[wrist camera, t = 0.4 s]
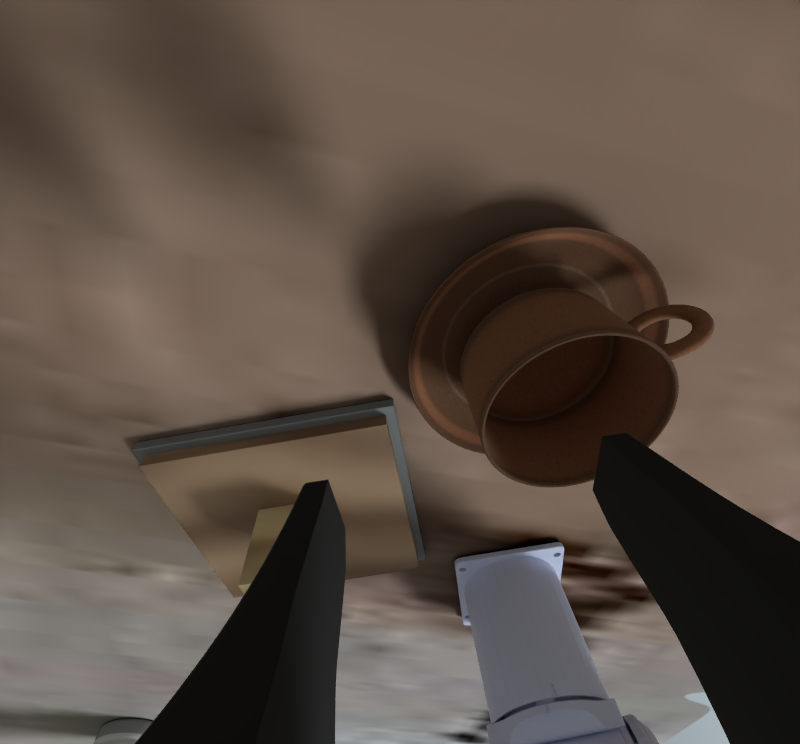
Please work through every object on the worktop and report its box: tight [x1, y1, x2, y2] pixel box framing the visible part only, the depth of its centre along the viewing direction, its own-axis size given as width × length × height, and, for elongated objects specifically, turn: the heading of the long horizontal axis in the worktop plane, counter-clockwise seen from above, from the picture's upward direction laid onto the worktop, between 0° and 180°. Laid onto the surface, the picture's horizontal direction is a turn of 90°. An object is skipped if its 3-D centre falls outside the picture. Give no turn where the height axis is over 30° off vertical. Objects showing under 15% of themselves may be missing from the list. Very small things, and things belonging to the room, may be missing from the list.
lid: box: [138, 415, 419, 597], centre depth 22 cm, size 13×13×5 cm
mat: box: [131, 399, 426, 561], centre depth 25 cm, size 14×14×1 cm
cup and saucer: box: [408, 227, 714, 487], centre depth 17 cm, size 12×12×6 cm
